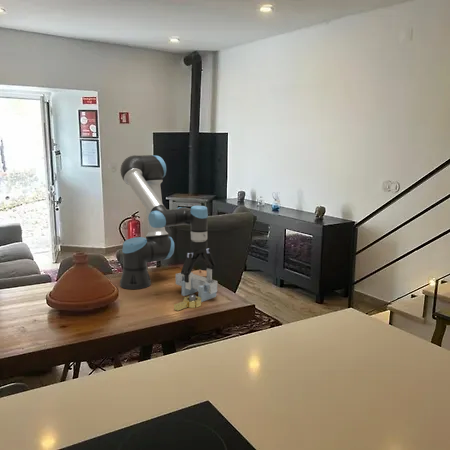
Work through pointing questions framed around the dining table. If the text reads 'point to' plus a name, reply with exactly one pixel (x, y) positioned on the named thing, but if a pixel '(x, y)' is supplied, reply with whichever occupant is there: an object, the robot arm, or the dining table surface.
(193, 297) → the nut base
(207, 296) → the rack
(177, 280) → the white t-shaped plate
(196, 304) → the gold box wrench
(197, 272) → the lidded jar
